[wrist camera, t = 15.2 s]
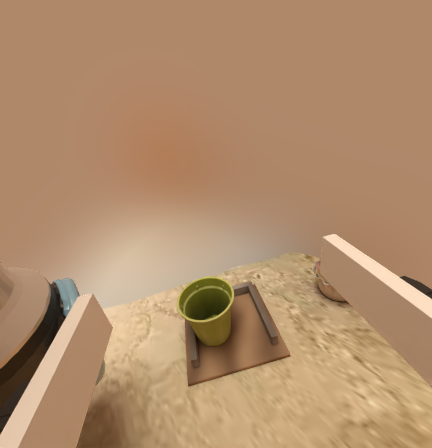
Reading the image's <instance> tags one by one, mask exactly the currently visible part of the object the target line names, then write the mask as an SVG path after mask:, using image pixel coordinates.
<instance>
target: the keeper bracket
mask: <svg viewBox="0 0 432 448" xmlns="http://www.w3.org/2000/svg"><path fill="white" fill-rule="evenodd" d="M232 288H233V290H234V300H233V303H232V306H231V331H230V335H229V337H228V339H227V340H226V341H225V342H224V343H222V344H221V345H219V346H206V345H204V344H202V343H201V342H200V340H199V339H198V337H197V335H196V333H195V331H194V330H193V328H192V326H191V324H190V323H189V322H188V321H187V320H186V319H185V331H186V354H187V376H188V386H191V385H195V384H198V383H201V382H205V381H208V380H211V379H215V378H218V377H222V376H225V375H228V374H232V373H235V372H238V371H242V370H245V369H248V368H252V367H255V366H259V365H262V364H265V363H269V362H272V361H275V360H279V359H282V358H286V357H289V356H290V353H289V351H288V349H287V347H286V345H285V343H284V341H283V339H282V337H281V335H280V333H279V331H278V329H277V327H276V325H275V323H274V321H273V319H272V317H271V315H270V313H269V311H268V310H267V308H266V306H265V304H264V302H263V300H262V298H261V296H260V294H259V292H258V290H257V288H256V286H255V284H254V285H252V282H248V283H244V284H240V285H236V286H232Z"/></svg>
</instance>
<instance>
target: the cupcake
mask: <svg viewBox="0 0 432 448" xmlns="http://www.w3.org/2000/svg"><path fill="white" fill-rule="evenodd" d="M320 261H321V257H320ZM320 261H315V264H316V265H315V266H313V267H312V269H313V271H314V273H315V275H314V276H315V278H316V279H317V281H318V285H319V289H320V290H321V292H322V293H323V294H324V295H325V296H326V297H328V298H330V299H332V300H335V301H346V300H345V299H344V298H343V297H342V296H341V295H340V294H339V293H338V292H337V290H336V289H335V288H334V287H333V286H332V285H331V284H330V283H329V282H328V281H327V280H326V279H325V278H324V277H323V276H322V275H321V274H320Z"/></svg>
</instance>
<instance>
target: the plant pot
mask: <svg viewBox="0 0 432 448" xmlns="http://www.w3.org/2000/svg"><path fill="white" fill-rule="evenodd" d="M233 300H234V290H233V288H232V286H231V285H230V283H229V282H227V281H226V280H224V279H222V278H219V277H204V278H200V279H197V280H195V281H193V282H191V283H190V284H188V285H187V286H186V287H185V288H184V289H183V290H182V291H181V293H180V295H179V297H178V300H177V308H178V311H179V313H180V314H181V316H182V317H183V318H185V319H186V320H187V321H188V322H189V323H190V324H191V326H192V328H193V330H194V331H195V333H196V335H197V337H198V339H199V340H200V342H201V343H202V344H204V345H206V346H219V345H221V344H222V343H224V342H225V341H226V340H227V339H228V337H229V335H230V331H231V306H232V303H233Z"/></svg>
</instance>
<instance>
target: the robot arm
mask: <svg viewBox="0 0 432 448" xmlns="http://www.w3.org/2000/svg"><path fill="white" fill-rule="evenodd" d="M320 274H321V275H322V276H323V277H324V278H325V279H326V280H327V281H328V282H329V283H330V284H331V285H332V286H333V287H334V288H335V289H336V290H337V292H338V293H339V294H340V295H341V296H342V297H343V298H344V299H345V300H346V301H347V302H348V303H349V304H350V305H351V306H352V307H353V308H354V309H355V310H356V311H357V312H358V313H359V314H360V315H361V316H362V317H363V318H364V319H365V320H366V321H367V322H368V323H369V324H370V325H371V326H372V327H373V328H374V329H375V330H376V331H377V332H378V333H379V334H380V335H381V336H382V337H383V338H384V339H385V340H386V341H387V342H388V343H389V344H390V345H391V346H392V347H393V348H394V349H395V350H396V351H397V352H398V353H399V354H400V355H401V356H402V357H403V358H404V359H405V360H406V361H407V362H408V363H409V364H410V365H411V366H412V367H413V368H414V369H415V370H416V371H417V373H418V374H419V375H420V376H421V377H422V378H423V379H424V380H425V381H426V382H427V383H428V384H429V385H430V386H431V387H432V290H431V289H430V288H428V287H427V286H425V285H424V284H422V283H420V282H418V281H415V280H413V279H411V278H408V277H406V276H403V277H398V276H396V275H395V274H393V273H392V272H390V271H389V270H388V269H386V268H385V267H383V266H382V265H380V264H379V263H377V262H376V261H374V260H373V259H371V258H370V257H368V256H366V255H365V254H364V253H362V252H361V251H359V250H358V249H356V248H355V247H353V246H352V245H350V244H349V243H347V242H346V241H344V240H343V239H341V238H340V237H338V236H337V235H335V234H333V235H328V236H325V237H323V239H322V250H321V261H320ZM112 328H113V327H112V325H111V324H110V322H109V320H108V319H107V317H106V315H105V313H104V312H103V310H102V308H101V307H100V305H99V304H98V301H97V300H96V298H95V297H94V295H93V294H88V295H84V296H80V295H79V292H78V290H77V287H76V285H75V283H74V281H73V280H72V279H70V278H65V279H62V280H56V281H53V283H52V284H50V283H49V282H48V281H47V279H46V278H45V277H44V276H43V275H42V274H40V273H39V272H37V271H35V270H32V269H29V268H22V267H9V268H5V267H4V265H3V264H2V263H1V262H0V448H76V447H77V444H78V440H79V437H80V434H81V430H82V427H83V424H84V421H85V417H86V414H87V411H88V407H89V404H90V401H91V397H92V394H93V391H94V388H95V386H96V385H97V384H98V383H99V381H100V380H101V379H102V377H103V375H104V372H105V361H104V355H105V351H106V348H107V345H108V341H109V338H110V335H111V332H112Z"/></svg>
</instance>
